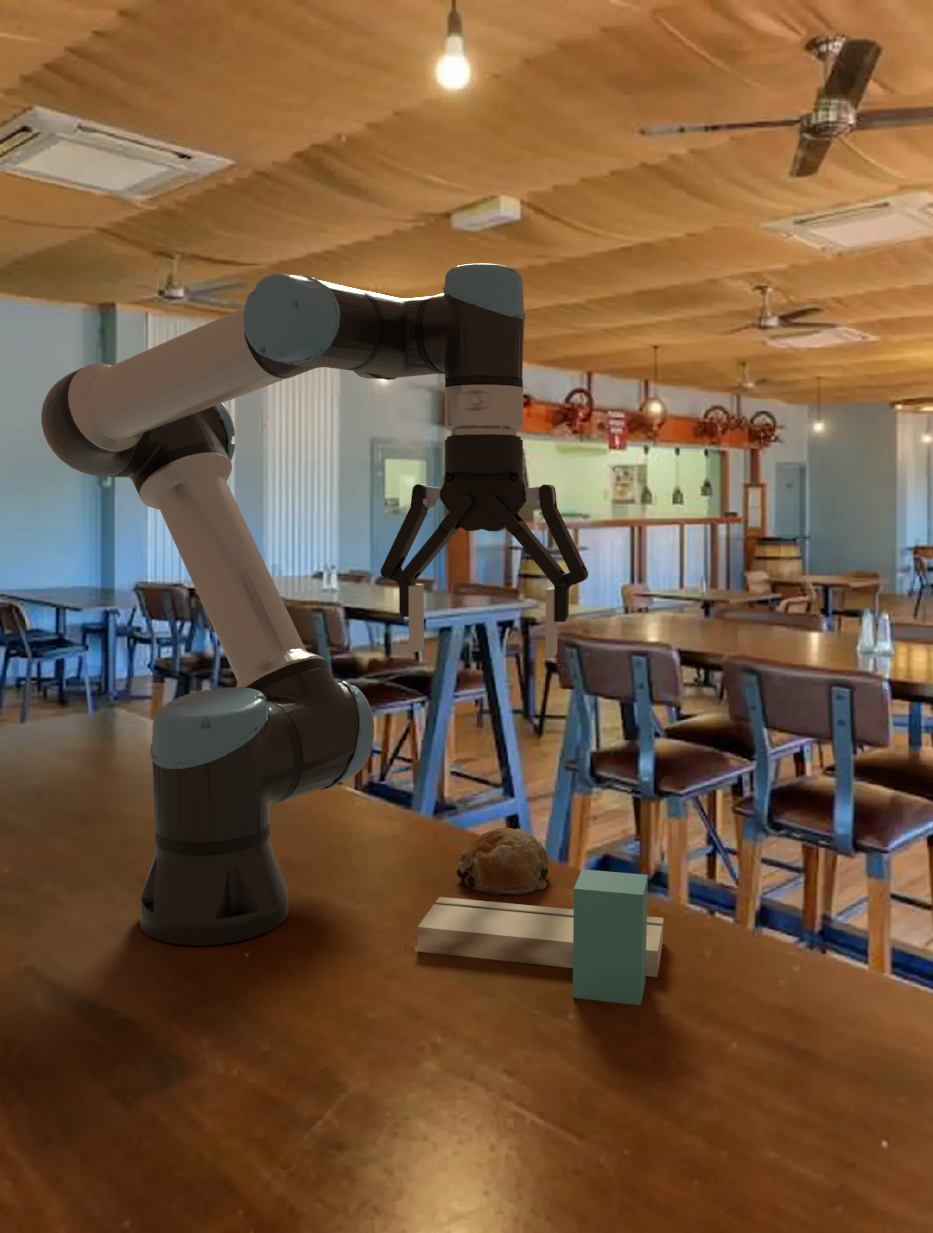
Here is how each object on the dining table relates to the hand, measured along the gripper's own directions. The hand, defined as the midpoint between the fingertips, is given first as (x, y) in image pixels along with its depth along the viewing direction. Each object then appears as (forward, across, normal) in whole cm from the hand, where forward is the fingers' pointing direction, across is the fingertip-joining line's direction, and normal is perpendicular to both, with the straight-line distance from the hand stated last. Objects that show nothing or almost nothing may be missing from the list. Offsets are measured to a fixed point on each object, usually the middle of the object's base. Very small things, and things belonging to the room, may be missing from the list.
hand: (482, 653), depth 106 cm
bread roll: (+29, -1, +15) cm, 33 cm away
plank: (+29, +6, -2) cm, 29 cm away
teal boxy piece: (+29, +14, -5) cm, 32 cm away
